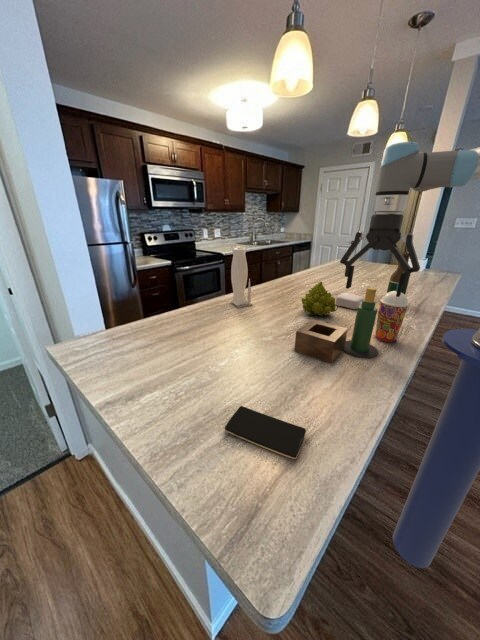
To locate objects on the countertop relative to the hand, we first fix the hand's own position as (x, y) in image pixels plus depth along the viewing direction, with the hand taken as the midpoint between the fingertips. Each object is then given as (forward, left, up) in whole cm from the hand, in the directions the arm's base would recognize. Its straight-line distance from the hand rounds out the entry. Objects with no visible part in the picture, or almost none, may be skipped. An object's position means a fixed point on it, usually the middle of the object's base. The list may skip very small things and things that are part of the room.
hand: (372, 291), depth 77 cm
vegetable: (+24, -22, -20) cm, 38 cm away
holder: (+10, +8, -20) cm, 23 cm away
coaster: (0, 0, -20) cm, 20 cm away
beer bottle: (0, -59, -20) cm, 62 cm away
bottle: (0, 0, -19) cm, 19 cm away
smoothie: (-5, -14, -20) cm, 25 cm away
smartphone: (+5, +48, -20) cm, 52 cm away
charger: (+13, -41, -20) cm, 47 cm away
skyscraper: (+57, -10, -20) cm, 61 cm away
